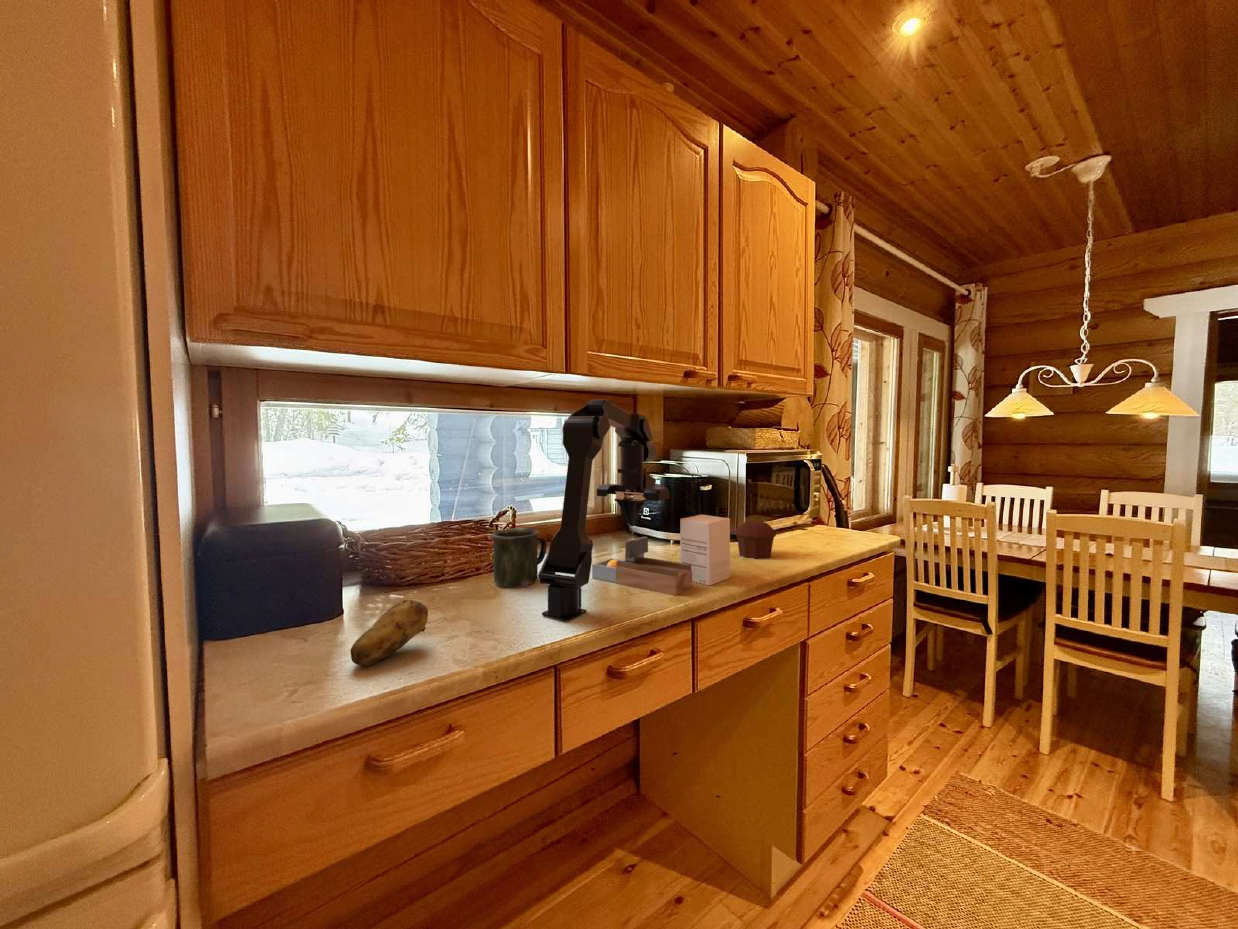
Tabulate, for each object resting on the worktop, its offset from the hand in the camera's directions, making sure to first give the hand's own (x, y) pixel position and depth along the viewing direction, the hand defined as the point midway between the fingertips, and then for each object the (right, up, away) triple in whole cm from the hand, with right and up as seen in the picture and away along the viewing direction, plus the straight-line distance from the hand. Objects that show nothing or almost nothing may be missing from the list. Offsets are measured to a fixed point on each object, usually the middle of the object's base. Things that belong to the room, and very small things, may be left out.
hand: (632, 526), depth 132 cm
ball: (-4, -10, -4) cm, 11 cm away
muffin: (+36, -11, +19) cm, 43 cm away
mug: (-27, -13, -6) cm, 30 cm away
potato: (-40, -15, -48) cm, 64 cm away
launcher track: (+5, -13, -10) cm, 17 cm away
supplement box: (+18, -13, -5) cm, 22 cm away
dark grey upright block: (0, -8, -7) cm, 11 cm away
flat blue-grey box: (-5, -12, -3) cm, 13 cm away
